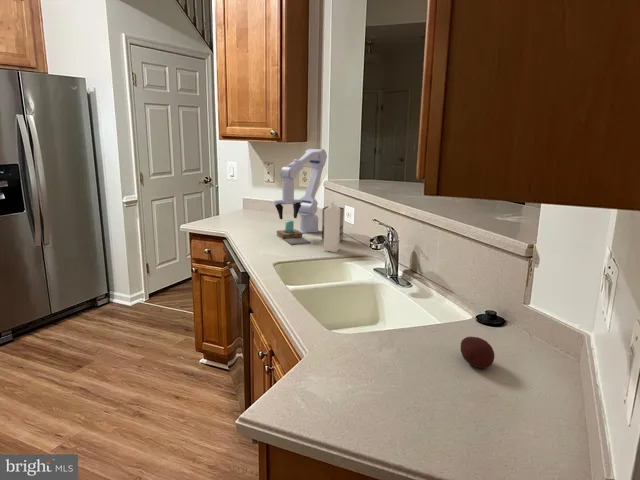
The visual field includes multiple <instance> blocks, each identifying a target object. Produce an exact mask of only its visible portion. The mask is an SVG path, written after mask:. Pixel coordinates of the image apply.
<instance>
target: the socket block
mask: <svg viewBox="0 0 640 480" xmlns="http://www.w3.org/2000/svg"><path fill="white" fill-rule="evenodd" d="M276 236H277V237H278V238H280V239H281V240H283V241H284V239H290V238H303V233H301V232H300V231H298V230H297V229H295V228H294V231H293V233H285V229H283V230H282V229H281V230H276Z"/></svg>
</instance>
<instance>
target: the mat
mask: <svg viewBox="0 0 640 480" xmlns="http://www.w3.org/2000/svg"><path fill="white" fill-rule="evenodd" d="M283 241H284V242H286V244H287V243H288V244H289V245H290V246H293V245H294V244H296V245H305V244H306V243H307V244H311V241H310V240H308V239H307V238H305V237H302V238H290V239H284V240H283Z"/></svg>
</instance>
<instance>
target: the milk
mask: <svg viewBox="0 0 640 480" xmlns="http://www.w3.org/2000/svg"><path fill="white" fill-rule="evenodd" d="M339 234H340V208H339V207H338V206H337V205H336V204H335V201H332V202H331V203H330V206H329V207H328V208H326V209H325V210H324V240H323V252H328V251H331V253H337V252H338V251H339V249H340V241H339Z"/></svg>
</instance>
